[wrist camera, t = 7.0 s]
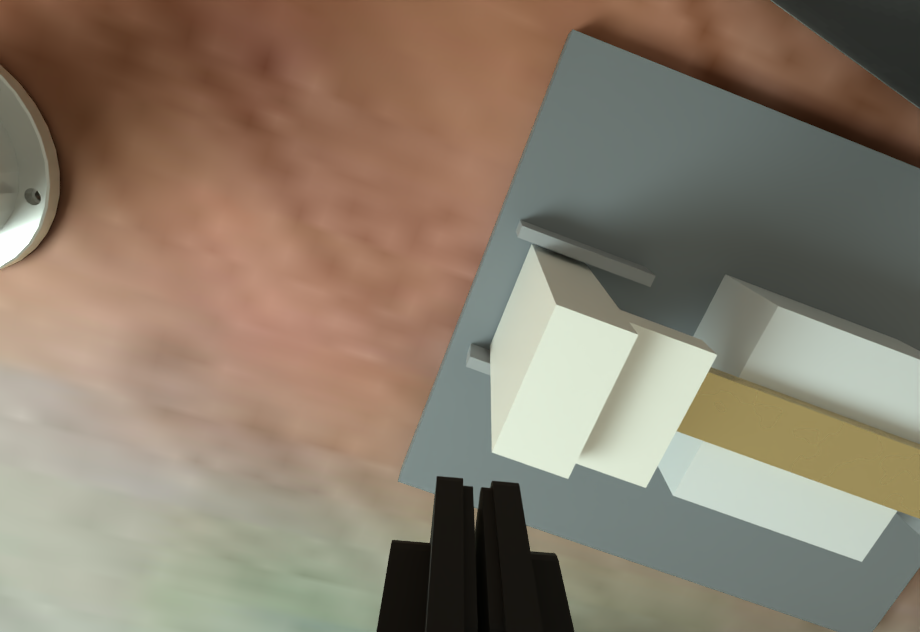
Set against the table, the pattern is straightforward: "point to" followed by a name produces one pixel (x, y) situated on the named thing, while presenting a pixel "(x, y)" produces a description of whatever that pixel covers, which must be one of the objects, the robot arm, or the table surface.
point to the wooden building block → (806, 441)
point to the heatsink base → (688, 238)
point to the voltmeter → (869, 36)
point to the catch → (586, 376)
